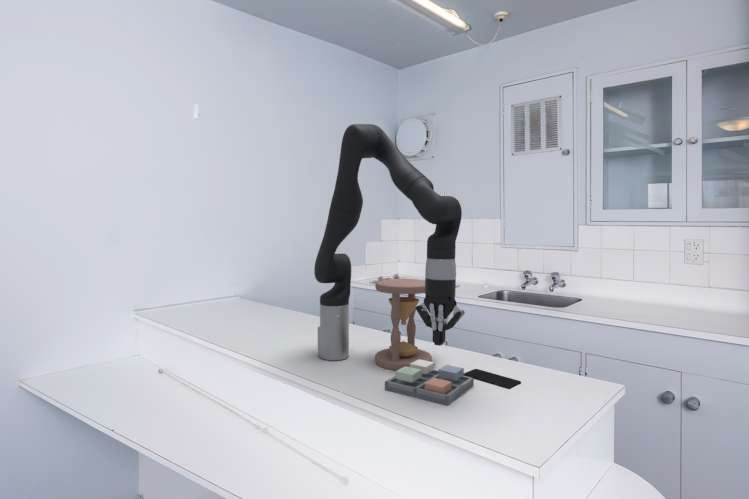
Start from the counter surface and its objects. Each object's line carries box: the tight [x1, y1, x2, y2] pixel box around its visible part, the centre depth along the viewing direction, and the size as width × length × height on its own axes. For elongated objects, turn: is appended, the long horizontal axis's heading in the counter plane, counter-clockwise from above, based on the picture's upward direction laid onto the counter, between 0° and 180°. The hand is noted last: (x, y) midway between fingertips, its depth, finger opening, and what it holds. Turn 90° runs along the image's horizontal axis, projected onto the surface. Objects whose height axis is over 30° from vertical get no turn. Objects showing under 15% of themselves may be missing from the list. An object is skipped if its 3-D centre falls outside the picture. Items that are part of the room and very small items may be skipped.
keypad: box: [384, 369, 475, 407], centre depth 124 cm, size 18×16×2 cm
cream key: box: [410, 359, 436, 374], centre depth 130 cm, size 5×5×2 cm
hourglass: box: [374, 278, 433, 372], centre depth 145 cm, size 18×18×25 cm
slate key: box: [437, 364, 465, 381], centre depth 125 cm, size 5×5×2 cm
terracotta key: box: [425, 378, 451, 394], centre depth 119 cm, size 5×5×2 cm
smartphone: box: [464, 368, 522, 390], centre depth 131 cm, size 7×1×15 cm
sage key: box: [394, 366, 422, 382], centre depth 123 cm, size 5×5×2 cm
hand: (438, 344), depth 118 cm, fingers closed
